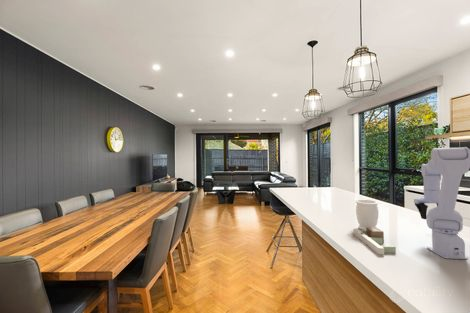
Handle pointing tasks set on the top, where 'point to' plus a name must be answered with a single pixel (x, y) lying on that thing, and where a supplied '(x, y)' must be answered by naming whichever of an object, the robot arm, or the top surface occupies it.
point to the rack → (374, 242)
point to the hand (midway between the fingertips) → (432, 218)
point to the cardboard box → (374, 232)
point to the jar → (367, 213)
